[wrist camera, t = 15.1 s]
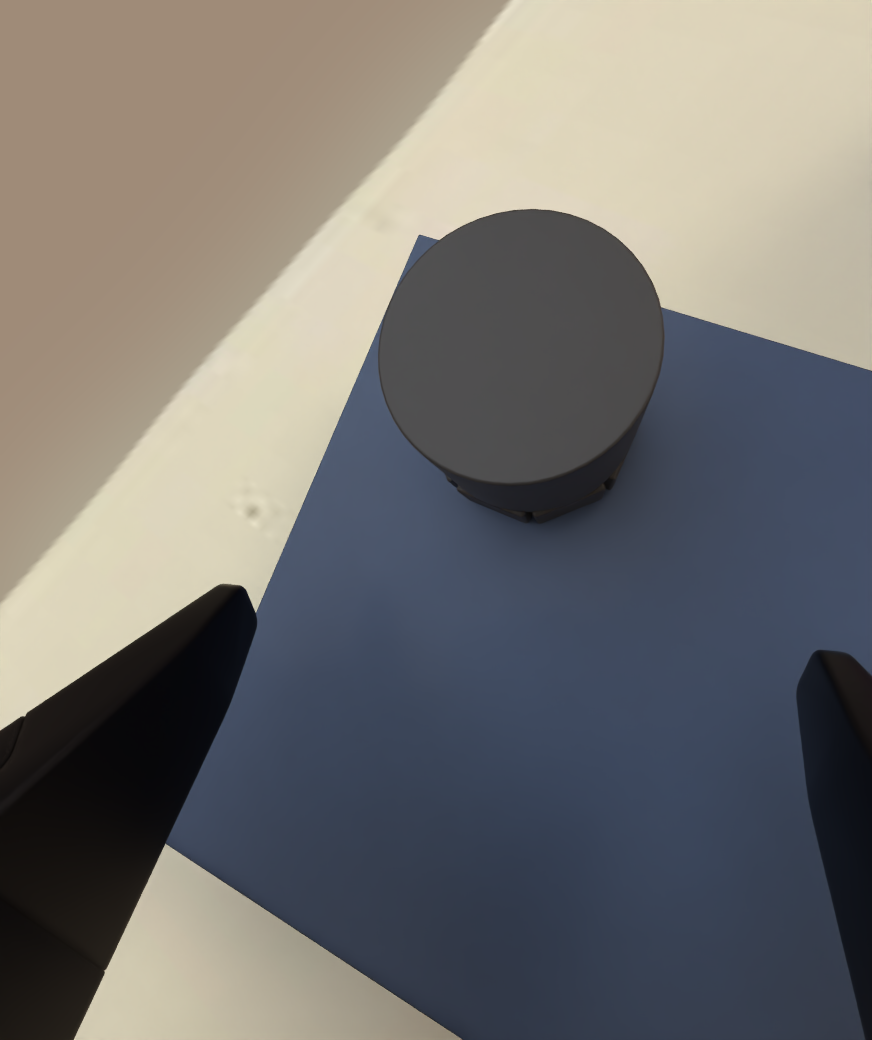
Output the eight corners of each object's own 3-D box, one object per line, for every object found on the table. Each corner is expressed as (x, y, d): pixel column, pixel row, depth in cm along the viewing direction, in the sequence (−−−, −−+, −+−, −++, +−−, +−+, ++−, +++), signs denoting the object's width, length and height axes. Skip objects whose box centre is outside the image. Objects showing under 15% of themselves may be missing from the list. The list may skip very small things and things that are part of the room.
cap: (664, 474, 13) (716, 413, 8) (481, 547, 13) (433, 530, 9) (586, 304, 13) (593, 158, 9) (417, 382, 14) (340, 285, 9)
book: (966, 1219, 13) (1124, 1477, 10) (245, 784, 18) (157, 839, 14) (1245, 568, 14) (1515, 564, 10) (451, 306, 18) (418, 233, 14)
